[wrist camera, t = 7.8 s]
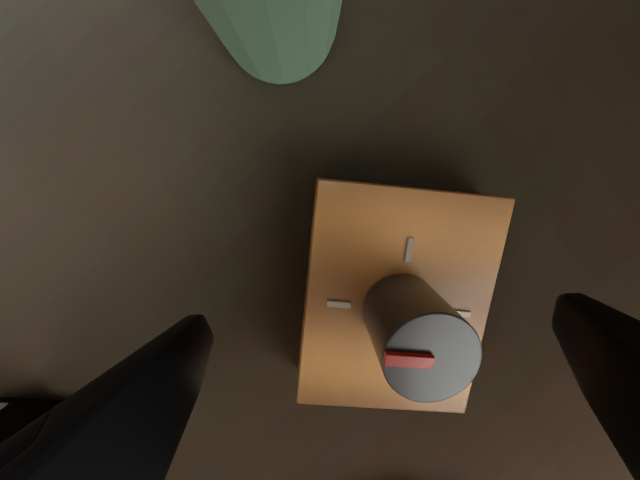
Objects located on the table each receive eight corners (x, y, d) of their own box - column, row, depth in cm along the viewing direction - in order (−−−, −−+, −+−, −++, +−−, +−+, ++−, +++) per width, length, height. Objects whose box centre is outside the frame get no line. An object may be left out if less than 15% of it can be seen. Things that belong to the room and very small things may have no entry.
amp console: (442, 378, 23) (466, 415, 20) (298, 369, 23) (296, 406, 19) (481, 193, 20) (518, 199, 17) (316, 177, 20) (318, 178, 16)
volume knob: (442, 276, 18) (497, 320, 13) (429, 344, 19) (475, 411, 14) (367, 270, 18) (391, 311, 12) (357, 339, 18) (376, 405, 13)
